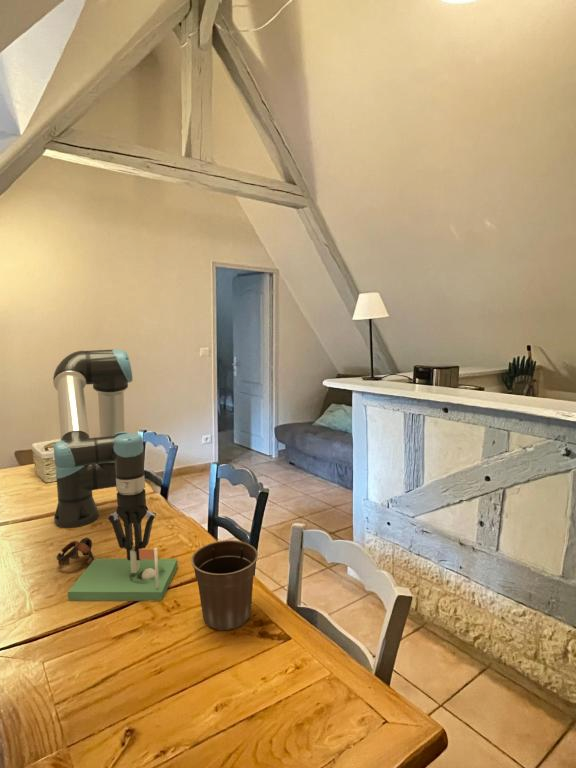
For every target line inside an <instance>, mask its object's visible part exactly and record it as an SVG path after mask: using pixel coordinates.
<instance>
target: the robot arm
mask: <svg viewBox="0 0 576 768" xmlns="http://www.w3.org/2000/svg"><path fill="white" fill-rule="evenodd" d="M52 378H53V379H52V380H53V382H52V383H53V387H54V389H55V390H56V391H57V400H58V403H57V404H58V418H59V419H58V420H59V430H60V431H59V432H60V433H59V434H60V439H61V441H59V442H55V443H54V446H53V448H54V460H55V466H56V478H57V481H56V488H57V505H56V509H55V512H54V517H53V518H54V519H53V520H54V521H53V522H54V525H55V526H56V527H58V528H65V529H70V528H79V527H84V526H87V525H89V524H91V523H94V522H95V521H96V520H98V518H99V516H100V513H99V508H98V506H97V503H96V501H95V499H94V497H93V491H96V490H101V489H102V490H103V489H109V488H116V492H117V493H116V503H117V504H116V505H117V508H116V510H115V511H114V512H111V514H110V515H109V516H108V517H107V519H108V520H109V522H110V523H111V525H112V528H113V532H114V534H115V537H116V540H117V543H118V546H119V549H124V550H126V559H128V560H130V561H131V573H137V571H138V570H139V568H140V565H139V560H141V559H139V549H146V548H147V546H148V544H149V542H150V541H149V540H150V536H151V534H152V533H151V532H152V527H153V523H154V520H155V518H156V517H157V513H156V512H151V511H150V510H149V507H148V506H147V496H146V489H145V488H146V479H145V461H144V460H145V459H144V449H145V448H144V447H145V446H144V441H143V436H142V435H140V434H138V433H133V432H132V433H129V432H128V431H125V395H124V394H125V393H124V392H125V391H126V390H127V389H128V388H129V383H132V382H133V371H132V366H131V361H130V358H129V354H128V352H127V351H126V350H124V349H98V350H97V349H96V350H78V351H74V352H72V353H70V354H68V355H67V356H66V357H64V358H63V359H62V360H61V361H60V362H59V364H58V365H57V367H56V368H55V370H54V373H53V377H52ZM86 385H92V389H93V390H94V391H96V392H97V394H98V395H97V397H98V398H97V399H98V419H99V420H98V423H99V424H98V425H99V436H98V437H90V433H89V430H90V429H89V424H88V416H87V408H86V407H87V406H86V399H85V397H86V396H85V391H84V389H85V387H86ZM145 516H146V517H145ZM144 518H145V519H146V523H145V526H144V527H145V528H144V532H143V533H142V520H143V519H144ZM120 519H121V520H120ZM121 521H122V522H123V526H122V523H121ZM123 527H124V529H123ZM133 532H134V533H133ZM133 534H134V536H133Z"/></svg>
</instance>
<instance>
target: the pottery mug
mask: <svg viewBox="0 0 576 768" xmlns="http://www.w3.org/2000/svg"><path fill="white" fill-rule="evenodd" d="M92 546H93V543H92V540H91V538H89V537H85V538H82V539H81V540H80V541H79V540H73V541H70V542H69V543H68V544H66V545H65V546H63V548H62V549H61V550H60V551H61V552H62V553H61V552H59V553H57V555H56V560H57V561H58V562H57V564H58V566H59V567H61V566H65V565H66V566H70V559H71V560H79V559H81V556H80V555H79V551H80V552H81V553H82V555H83V556H89V559H88V560H87V561H86V564H87V565H88V566H89V565H90V564H91V563H92V562H93V560H94V559H95V557H94V554H93V553H92V548H93V547H92Z"/></svg>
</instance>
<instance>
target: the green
mask: <svg viewBox="0 0 576 768" xmlns="http://www.w3.org/2000/svg"><path fill="white" fill-rule="evenodd" d="M178 561H179V560H178V558H158V576H159V589H158V590H156V579H155V577H153V578H151V579H148V580H142V573H143V571H144V570H146V569H148V568H152V569H154V570H155V559H141V560H139V565H140V568H139V570H138V571H137V573H131V561H130V560H128V559H127V558H94V560H93V562H92V563H91V564H90V565H88V566H87V568H86V569H85V570H84V571H83V573H82V574H81V575H80V576H79V577H78V578H77V580H76V581H75V582H74V583H73V585H72V586H71V587H70V588H69V590H68V591H67V599H68V601H70V602H71V601H73V602H75V601H77V602H78V601H79V602H80V601H85V602H86V601H90V602H91V601H92V602H93V601H94V602H95V601H98V602H99V601H106V602H107V601H114V602H115V601H118V602H122V601H123V602H124V601H127V602H128V601H130V602H131V601H132V602H133V601H136V602H140V601H141V602H142V601H143V602H144V601H145V602H147V601H149V600H151V601H152V602H156V600H157V602H162V601H163V600H164V597H165V595H166V593H167V591H168V588H169V587H170V584H171V583H172V580H173V578H174V575H175V573H176V572H177V569H178V567H179V565H178V564H179V562H178ZM168 586H169V587H168ZM162 599H163V600H162ZM153 600H154V601H153ZM151 601H149V602H151Z"/></svg>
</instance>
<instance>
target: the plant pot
mask: <svg viewBox="0 0 576 768" xmlns="http://www.w3.org/2000/svg"><path fill="white" fill-rule="evenodd" d="M258 555H259V554H258V550H257V549H256V548H255V547H254V546H253V545H251V544H249V543H248V542H246V541H241V540H231V539H228V540H220V541H214V542H211V543H208V544H205V545H203V546H201V547H200V548H198V549H197V550H195V552H194V553H193V554H192V555H191V559H190V560H191V561H190V562H191V566H192V568H193V571H194V575H195V578H196V581H197V586H198V587H197V588H198V592H199V600H200V606H201V614H202V619H203V622H204V624H205V626H207V627H208V628H213V629H215V630H216V631H230V630H235V629H238V628H240V627H242V626H243V625H245V623H246V622H247V620H249V619H250V618H251V615H252V606H253V605H252V601H253V585H254V574H255V572H256V565H257V564H256V563H257V560H258Z"/></svg>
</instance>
